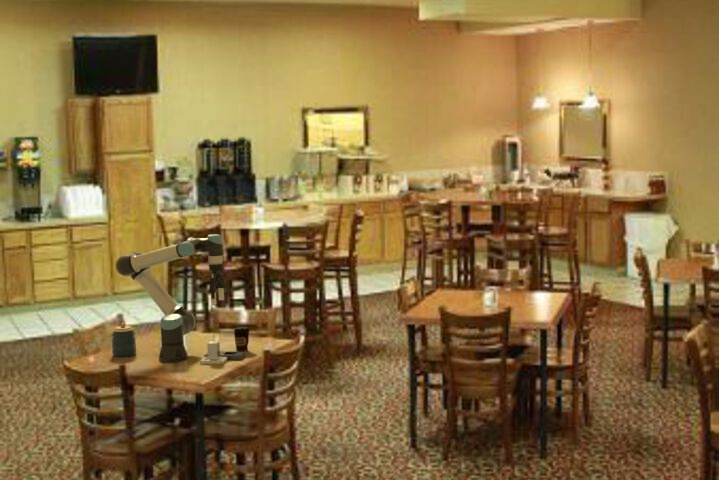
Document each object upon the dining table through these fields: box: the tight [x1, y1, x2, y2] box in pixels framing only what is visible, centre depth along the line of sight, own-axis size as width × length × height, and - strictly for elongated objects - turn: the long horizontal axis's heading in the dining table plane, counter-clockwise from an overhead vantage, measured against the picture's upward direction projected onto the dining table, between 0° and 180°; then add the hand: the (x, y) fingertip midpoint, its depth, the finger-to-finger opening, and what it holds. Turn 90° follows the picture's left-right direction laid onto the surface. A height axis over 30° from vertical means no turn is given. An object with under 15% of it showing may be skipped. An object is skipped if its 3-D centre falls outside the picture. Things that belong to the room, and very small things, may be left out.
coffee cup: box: [233, 326, 250, 353], centre depth 551 cm, size 9×8×13 cm
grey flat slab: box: [203, 350, 246, 361], centre depth 537 cm, size 20×9×2 cm, turn 81°
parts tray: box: [199, 357, 229, 365], centre depth 528 cm, size 12×9×2 cm
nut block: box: [206, 340, 221, 361], centre depth 527 cm, size 5×5×10 cm
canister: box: [110, 322, 137, 358], centre depth 550 cm, size 13×13×18 cm
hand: (217, 302), depth 541 cm, fingers open, 13 cm apart
